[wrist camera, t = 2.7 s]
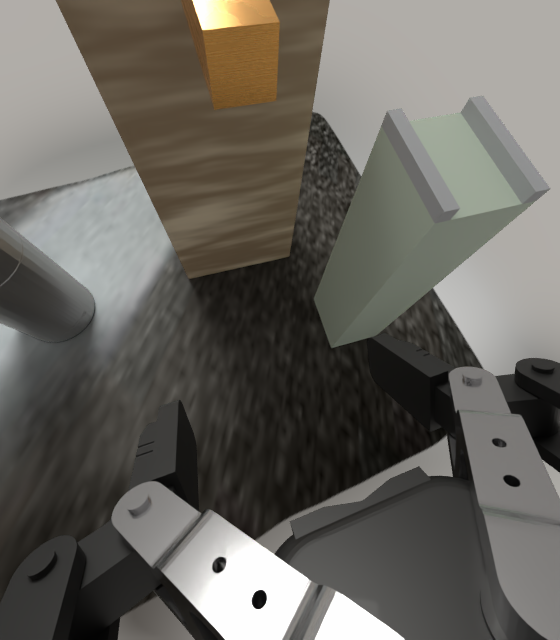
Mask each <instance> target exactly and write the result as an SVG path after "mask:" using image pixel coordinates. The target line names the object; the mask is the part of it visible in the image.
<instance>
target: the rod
mask: <svg viewBox="0 0 560 640" xmlns="http://www.w3.org/2000/svg"><path fill="white" fill-rule="evenodd" d="M181 3H182V6H183V9H184V13H185V16H186V19H187V22H188V26H189V29H190V32H191V35H192V39H193V42H194V45H195V49H196V52H197V55H198V58H199V62H200V65H201V68H202V71H203V75H204V78H205V81H206V84H207V88H208V91H209V94H210V98H211V101H212V104H213V107H214V110H217V109H224V108H231V107H238V106H245V105H252V104H259V103H265V102H272V101H276V97H277V74H278V52H279V29H280V21H279V19H278V17H277V15H276V13H275V11H274V8H273V6H272V4H271V2H270V0H181Z"/></svg>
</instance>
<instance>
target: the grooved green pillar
mask: <svg viewBox="0 0 560 640" xmlns="http://www.w3.org/2000/svg"><path fill="white" fill-rule="evenodd" d="M548 190H550V188H549V186H548V185H547V183H546V182H545V181H544V179H543V178H542V177H541V175H540V174H539V172H538V171H537V170H536V168H535V167H534V165H533V164H532V163H531V161H530V160H529V159H528V157H527V156H526V154H525V153H524V152H523V150H522V149H521V148H520V146H519V145H518V143H517V142H516V141H515V139H514V138H513V136H512V135H511V134H510V132H509V131H508V130H507V128H506V127H505V125H504V124H503V123H502V121H501V120H500V119H499V117H498V116H497V115H496V113H495V112H494V110H493V109H492V108H491V106H490V105H489V103H488V102H487V101H486V99H485V98H484V96H478V97H473V98H469V100H468V102H467V103H466V105H465V107H464V108H463V110H462V111H461V113H456V114H450V115H444V116H438V117H432V118H425V119H419V120H413V121H408V119H407V117H406V115H405V114H404V112H403V110H402V109H396V110H389V111H387V113H386V115H385V118H384V120H383V123H382V125H381V128H380V131H379V133H378V136H377V138H376V141H375V143H374V146H373V149H372V151H371V154H370V156H369V159H368V161H367V164H366V166H365V169H364V172H363V174H362V177H361V179H360V182H359V184H358V187H357V189H356V192H355V195H354V197H353V200H352V202H351V205H350V207H349V210H348V212H347V215H346V218H345V220H344V223H343V225H342V228H341V230H340V233H339V235H338V238H337V241H336V243H335V246H334V248H333V251H332V253H331V256H330V258H329V261H328V264H327V266H326V269H325V271H324V274H323V276H322V279H321V282H320V284H319V287H318V289H317V292H316V294H315V297H314V301H315V304H316V307H317V310H318V313H319V315H320V318H321V321H322V324H323V327H324V329H325V332H326V335H327V338H328V341H329V344H330V346H331V348H334V347H337V346H341V345H345V344H348V343H352V342H355V341H359V340H363V339H366V338H370V337H374V336H376V335H377V334H378V333H380V332H381V331H382V330H383V329H384V328H386V327H387V326H388V325H389V324H390V323H392V322H393V321H394V320H395V319H396V318H397V317H399V316H400V315H401V314H402V313H403V312H405V311H406V310H407V309H408V308H409V307H411V306H412V305H413V304H414V303H415V302H416V301H418V300H419V299H420V298H421V297H422V296H424V295H425V294H426V293H427V292H428V291H430V290H431V289H432V288H433V287H434V286H435V285H437V284H438V283H439V282H440V281H441V280H443V279H444V278H445V277H446V276H447V275H449V274H450V273H451V272H452V271H453V270H454V269H456V268H457V267H458V266H459V265H460V264H462V263H463V262H464V261H465V260H466V259H468V258H469V257H470V256H471V255H472V254H473V253H475V252H476V251H477V250H478V249H479V248H480V247H482V246H483V245H484V244H485V243H487V242H488V241H489V240H490V239H491V238H492V237H494V236H495V235H496V234H497V233H498V232H500V231H501V230H502V229H503V228H504V227H505V226H507V225H508V224H509V223H510V222H511V221H513V220H514V219H515V218H516V217H517V216H518V215H520V214H521V213H522V212H523V211H525V210H526V209H527V208H528V207H529V206H531V204H533V203H534V202H535V201H536V200H538V199H539V198H540V197H541V196H542V195H544V194H545V193H546V192H547V191H548Z"/></svg>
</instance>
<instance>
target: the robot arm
mask: <svg viewBox="0 0 560 640" xmlns="http://www.w3.org/2000/svg"><path fill="white" fill-rule="evenodd" d="M94 308H95V303H94V298H93V296H92V294H91V293H90V292H89V290H88V289H87V288H86V287H84V286H83V285H82V284H81V283H79V282H78V281H77V280H76V279H75V278H73V277H72V276H71V275H70V274H69V273H67V272H66V271H65V270H64V269H62V268H61V267H60V266H59V265H58V264H56V263H55V262H54V261H53V260H51V259H50V258H49V257H48V256H47V255H45V254H44V253H43V252H42V251H40V250H39V249H38V248H37V247H36V246H34V245H33V244H32V243H31V242H29V241H28V240H27V239H26V238H25V237H23V236H22V235H21V234H20V233H19V232H17V231H16V230H15V229H14V228H12V227H11V226H10V225H8V224H7V223H6V222H5V221H4V220H2V219H1V218H0V323H1V324H3V325H6V326H8V327H10V328H13V329H15V330H18V331H20V332H22V333H25V334H27V335H30V336H32V337H34V338H37V339H39V340H42V341H46V342H60V341H65V340H68V339H70V338H72V337H74V336H76V335H77V334H79V333H80V332H81V331H82V330H84V329H85V328H86V326H87V325H88V324H89V322H90V321H91V319H92V317H93V313H94ZM367 345H368V356H369V367H370V373H371V375H372V378H373V379H374V381H375V382H376V383H377V384H378V385H379V386H380V387H381V388H382V389H383V390H384V391H386V392H387V393H388V394H389V395H390V396H391V397H392V398H393V399H394V400H395V401H397V402H398V403H399V404H400V405H401V406H402V407H403V408H404V409H405V410H407V411H408V412H409V413H410V414H411V415H412V416H413V417H414V418H415V419H417V420H418V421H419V422H420V423H421V424H422V425H423V426H424V427H425V428H427V429H428V430H429V431H430V432H431V431H434V430H436V429H438V428H441V427H443V428H444V429H445V430H446V431H447V439H448V445H449V452H450V459H451V466H452V473H453V477H448V476H427V475H426V473H424V471H423V470H422V469H421V468H420V467H417V468H414V469H412V470H409V471H407V472H405V473H402V474H400V475H398V476H395V477H393V478H391V479H389V480H388V481H386V482H385V483H384V484H383V485H382V486H380V487H379V488H378V489H377V490H376V491H374V492H373V493H372V494H371V495H369V496H368V497H367V498H366V499H365V500H363V501H360V502H354V503H348V504H341V505H334V506H328V507H323V508H321V509H318V510H316V511H314V512H311V513H309V514H307V515H304V516H302V517H300V518H297V519H295V520H293V521H290V523H291V527H292V531H293V535H292V536H291V537H289V538H288V539H287V540H286V541H285V542H284V543H283V544H282V545H281V546H280V547H279V549H278V550H277V551H276V553H275V554H272V553H271V552H270V551H268V550H267V549H265V548H264V547H263V546H261V545H260V544H258V543H257V542H256V541H254V540H253V539H251V538H250V537H249V536H247V535H246V534H244V533H243V532H242V531H240V530H239V529H237V528H236V527H235V526H233V525H232V524H230V523H229V522H228V521H226V520H225V519H223V518H222V517H221V516H219V515H218V514H216V513H215V512H213V511H212V510H209V509H206V510H205V511H204V512H203V513H202V514H201V513H200V512H199V500H198V474H197V448H196V441H195V437H194V433H193V430H192V428H191V425H190V422H189V420H188V417H187V415H186V412H185V409H184V407H183V404H182V402H181V401H180V400H178V401H175V402H171V403H168V404H165V405H162V406H160V407H159V412H158V419H157V421H156V422H153V423H150V424H148V425H147V427H146V428H145V429H144V431H143V432H142V434H141V435H140V439H139V444H138V449H137V453H136V458H135V463H134V467H133V472H132V477H131V482H130V486H129V491H128V492H127V493H126V494H125V495H124V496H123V497H122V498H121V499H120V500H119V502H118V503H117V504H116V506H115V508H114V510H113V513H112V519H111V520H110V521H108V522H107V523H106V524H105V525H103V526H102V527H101V528H99V529H98V530H96V531H94V532H93V533H91V534H90V535H88V536H87V537H85V538H84V539H82V540H81V541H79V542H77V541H76V540H75V539H74V537H72V536H69V535H63V536H58V537H55V538H53V539H51V540H49V541H47V542H45V543H44V544H42V545H41V546H39V547H38V548H37V549H35V550H34V551H33V552H32V553H31V554H30V555H29V556H28V557H27V558H26V559H25V560H24V561H23V562H22V563H21V564H20V566H19V567H18V568H17V570H16V571H15V573H14V574H13V576H12V578H11V580H10V582H9V585H8V587H7V589H6V592H5V594H4V596H3V599H2V601H1V603H0V640H117V639H118V631H119V622H120V616H122V615H123V614H124V613H125V612H127V611H128V610H129V609H130V608H132V607H133V606H134V605H135V604H137V603H138V602H139V601H140V600H142V599H143V598H144V597H145V596H147V595H148V594H149V593H150V592H152V591H154V592H155V593H156V594H157V595H158V597H159V598H160V599H161V600H162V601H163V602H164V604H165V605H166V606H167V607H168V608H169V609H170V611H171V612H172V613H173V614H174V615H175V616H176V618H177V619H178V620H179V621H180V622H181V623H182V625H183V626H184V627H185V628H186V629H187V630H188V632H189V633H190V634H191V635H192V637H193V638H194V639H195V640H560V499H559V496H558V494H557V492H556V490H555V488H554V485H553V483H552V481H551V479H550V477H549V474H548V472H547V470H546V468H545V466H544V463H543V461H542V460H544V461H545V462H546V463H548V464H549V465H550V466H552V467H553V468H554V469H556V470H557V471H558V472H560V363H557V362H555V361H551V360H547V359H540V358H528V359H523V360H520V361H518V362H517V363H516V367H515V374H510V375H501V376H494V375H493V374H492V373H490V372H488V371H486V370H484V369H480V368H476V367H460V368H454V367H452V366H451V365H449V364H447V363H446V362H444V361H442V360H440V359H439V358H437V357H435V356H434V355H432V354H429V353H428V352H427V351H425V350H422V349H421V348H420V347H418V346H416V345H415V344H413V343H410V342H406V341H402V340H399V341H398V340H397V339H395V338H394V337H392V336H390V335H389V334H387V333H384V334H380V335H377V336H374V337H371V338H369V339H368V342H367Z"/></svg>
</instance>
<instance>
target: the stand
mask: <svg viewBox="0 0 560 640" xmlns="http://www.w3.org/2000/svg"><path fill="white" fill-rule="evenodd" d="M329 1H330V0H270V2H271V4H272V6H273V8H274V11H275V13H276V15H277V17H278V19H279V21H280V29H279V52H278V74H277V97H276V101H272V102H265V103H259V104H252V105H245V106H238V107H231V108H224V109H217V110H214V107H213V104H212V101H211V98H210V94H209V91H208V88H207V84H206V81H205V78H204V75H203V71H202V68H201V65H200V62H199V58H198V55H197V52H196V49H195V45H194V42H193V39H192V35H191V32H190V29H189V26H188V22H187V19H186V16H185V13H184V9H183V6H182V3H181V0H56V2H57V4H58V6H59V8H60V10H61V12H62V14H63V16H64V18H65V21H66V23H67V25H68V27H69V29H70V31H71V33H72V35H73V37H74V39H75V42H76V44H77V46H78V48H79V50H80V52H81V54H82V56H83V58H84V60H85V62H86V65H87V67H88V69H89V71H90V73H91V75H92V77H93V79H94V81H95V84H96V86H97V88H98V90H99V92H100V94H101V96H102V98H103V100H104V102H105V104H106V107H107V109H108V111H109V113H110V115H111V117H112V119H113V121H114V123H115V125H116V128H117V130H118V132H119V134H120V136H121V138H122V140H123V142H124V144H125V146H126V148H127V151H128V153H129V155H130V157H131V159H132V161H133V163H134V165H135V167H136V169H137V172H138V174H139V176H140V178H141V180H142V182H143V184H144V186H145V188H146V190H147V192H148V195H149V197H150V199H151V201H152V203H153V205H154V207H155V209H156V211H157V213H158V215H159V218H160V220H161V222H162V224H163V226H164V228H165V230H166V232H167V234H168V236H169V239H170V241H171V243H172V245H173V247H174V249H175V251H176V253H177V255H178V257H179V259H180V262H181V264H182V266H183V268H184V270H185V272H186V274H187V276H188V278H189V279H192V278H196V277H201V276H205V275H209V274H214V273H218V272H223V271H227V270H232V269H236V268H241V267H245V266H250V265H254V264H259V263H263V262H268V261H272V260H277V259H281V258H285V257H289V255H290V249H291V243H292V236H293V230H294V224H295V217H296V211H297V205H298V198H299V192H300V185H301V179H302V173H303V166H304V160H305V154H306V147H307V141H308V135H309V128H310V122H311V116H312V109H313V103H314V96H315V90H316V84H317V77H318V71H319V64H320V58H321V52H322V46H323V39H324V33H325V27H326V20H327V14H328V7H329Z"/></svg>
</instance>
